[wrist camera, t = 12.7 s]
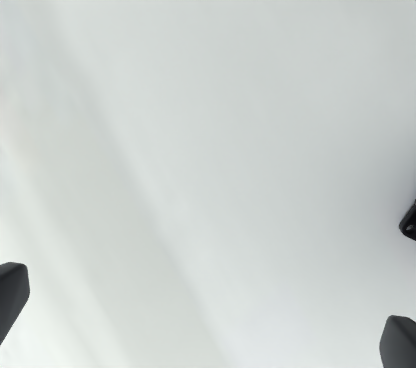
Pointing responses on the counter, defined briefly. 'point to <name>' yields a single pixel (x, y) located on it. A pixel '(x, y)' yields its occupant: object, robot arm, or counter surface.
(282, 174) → the counter surface
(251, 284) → the counter surface
